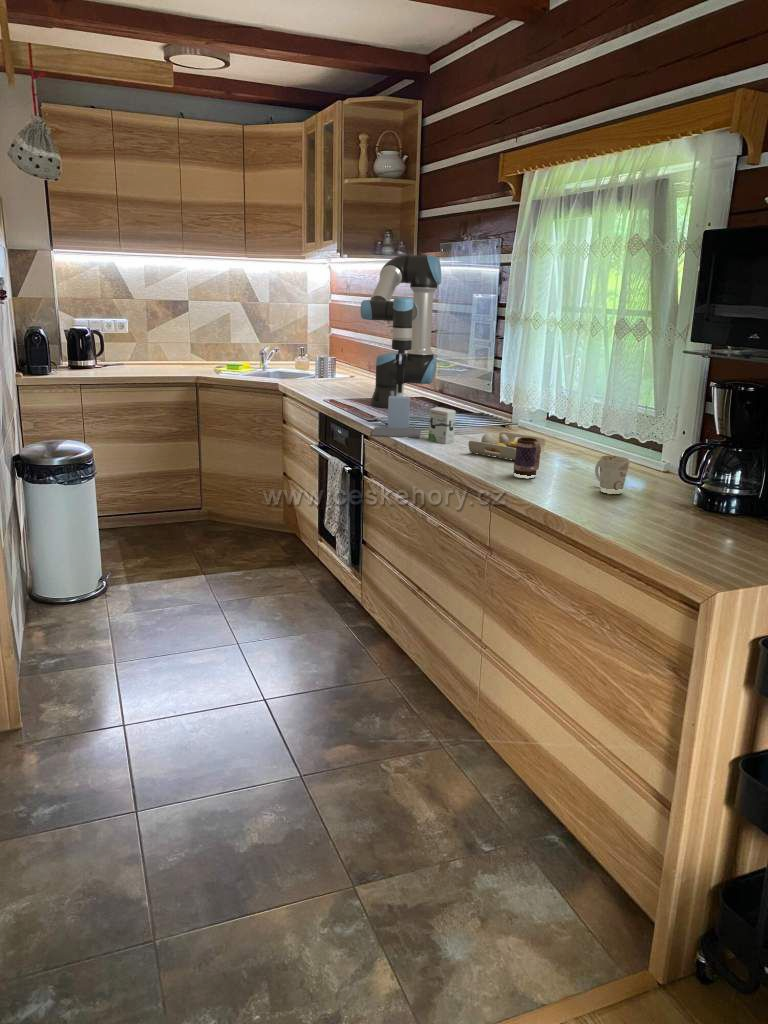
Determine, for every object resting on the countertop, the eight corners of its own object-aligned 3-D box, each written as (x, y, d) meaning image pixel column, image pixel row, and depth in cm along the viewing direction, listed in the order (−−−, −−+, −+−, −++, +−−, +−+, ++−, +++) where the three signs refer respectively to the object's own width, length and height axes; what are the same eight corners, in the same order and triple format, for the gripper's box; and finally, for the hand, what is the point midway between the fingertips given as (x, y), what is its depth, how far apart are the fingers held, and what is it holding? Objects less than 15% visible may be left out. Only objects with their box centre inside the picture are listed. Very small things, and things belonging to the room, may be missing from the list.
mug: (608, 497, 223) (612, 463, 220) (581, 486, 234) (584, 453, 231) (631, 495, 227) (636, 461, 224) (603, 483, 237) (607, 451, 234)
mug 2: (508, 474, 245) (511, 436, 241) (529, 473, 247) (532, 435, 244) (524, 482, 236) (528, 443, 232) (545, 481, 238) (549, 442, 234)
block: (388, 426, 311) (389, 395, 307) (408, 427, 310) (410, 396, 307) (387, 428, 306) (388, 397, 303) (408, 429, 306) (409, 398, 302)
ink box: (427, 440, 288) (429, 408, 285) (436, 438, 292) (437, 406, 288) (446, 444, 283) (447, 411, 279) (454, 442, 286) (456, 410, 282)
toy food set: (515, 464, 259) (517, 441, 257) (466, 455, 269) (468, 433, 266) (546, 451, 279) (548, 429, 277) (499, 443, 289) (501, 422, 286)
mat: (374, 428, 306) (374, 427, 305) (420, 430, 304) (421, 429, 304) (370, 436, 292) (370, 434, 292) (419, 438, 291) (419, 437, 291)
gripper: (393, 337, 308) (391, 397, 315) (390, 340, 295) (388, 403, 302) (412, 338, 307) (410, 398, 314) (410, 341, 295) (408, 403, 302)
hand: (399, 400), depth 308 cm, fingers closed
